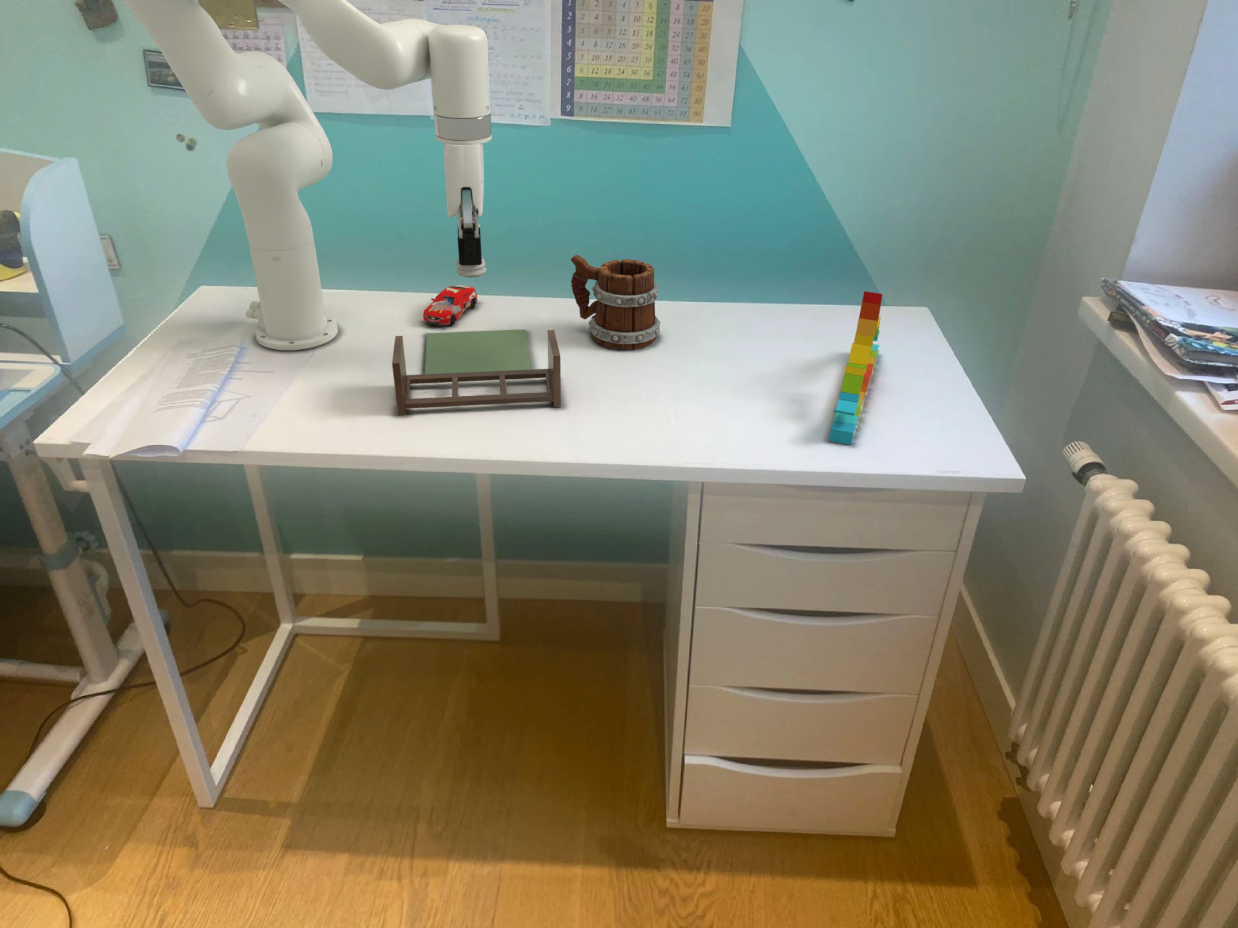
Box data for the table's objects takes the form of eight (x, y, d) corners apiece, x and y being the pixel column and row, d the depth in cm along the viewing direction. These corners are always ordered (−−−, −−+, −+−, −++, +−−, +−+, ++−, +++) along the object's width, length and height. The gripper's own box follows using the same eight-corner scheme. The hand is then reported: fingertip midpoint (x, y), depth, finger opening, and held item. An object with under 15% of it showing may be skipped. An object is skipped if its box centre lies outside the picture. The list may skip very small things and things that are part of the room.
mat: (427, 335, 150) (426, 333, 150) (525, 331, 152) (525, 329, 152) (424, 379, 137) (424, 376, 136) (532, 374, 139) (532, 371, 139)
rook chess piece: (492, 270, 135) (489, 216, 131) (478, 280, 132) (475, 225, 127) (464, 266, 136) (461, 212, 132) (450, 275, 133) (446, 221, 129)
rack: (400, 386, 134) (395, 335, 130) (554, 379, 138) (554, 329, 133) (397, 415, 127) (391, 363, 123) (561, 407, 130) (560, 355, 126)
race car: (447, 331, 152) (445, 308, 150) (418, 326, 153) (415, 303, 151) (483, 303, 162) (481, 281, 160) (455, 298, 164) (454, 277, 162)
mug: (656, 355, 145) (644, 263, 138) (571, 357, 149) (555, 268, 142) (672, 327, 155) (661, 239, 147) (592, 330, 159) (578, 245, 152)
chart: (852, 445, 123) (871, 342, 115) (828, 440, 124) (845, 338, 116) (878, 356, 147) (895, 266, 140) (858, 353, 148) (874, 263, 140)
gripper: (436, 114, 130) (444, 241, 139) (433, 141, 116) (443, 280, 125) (489, 114, 131) (494, 240, 140) (493, 141, 117) (498, 279, 127)
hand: (470, 258), depth 133 cm, fingers closed on rook chess piece, 3 cm apart
